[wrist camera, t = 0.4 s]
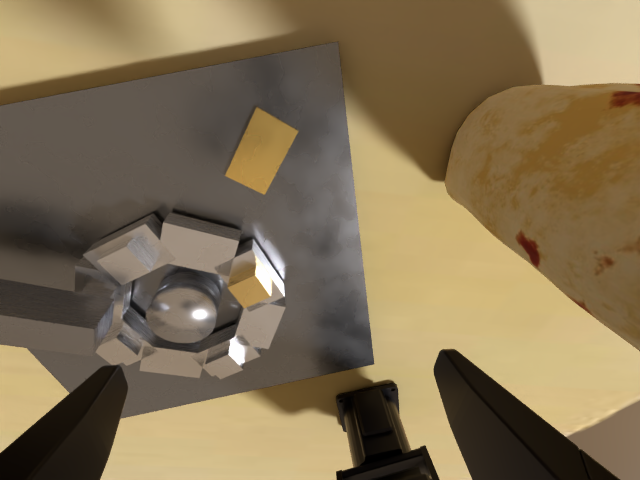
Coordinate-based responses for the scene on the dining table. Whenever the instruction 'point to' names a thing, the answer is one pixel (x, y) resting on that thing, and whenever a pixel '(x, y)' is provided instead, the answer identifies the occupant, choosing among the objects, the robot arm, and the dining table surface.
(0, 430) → the dining table surface
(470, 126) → the food model
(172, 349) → the grey ring frame
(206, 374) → the cap plate
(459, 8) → the dining table surface
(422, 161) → the dining table surface
